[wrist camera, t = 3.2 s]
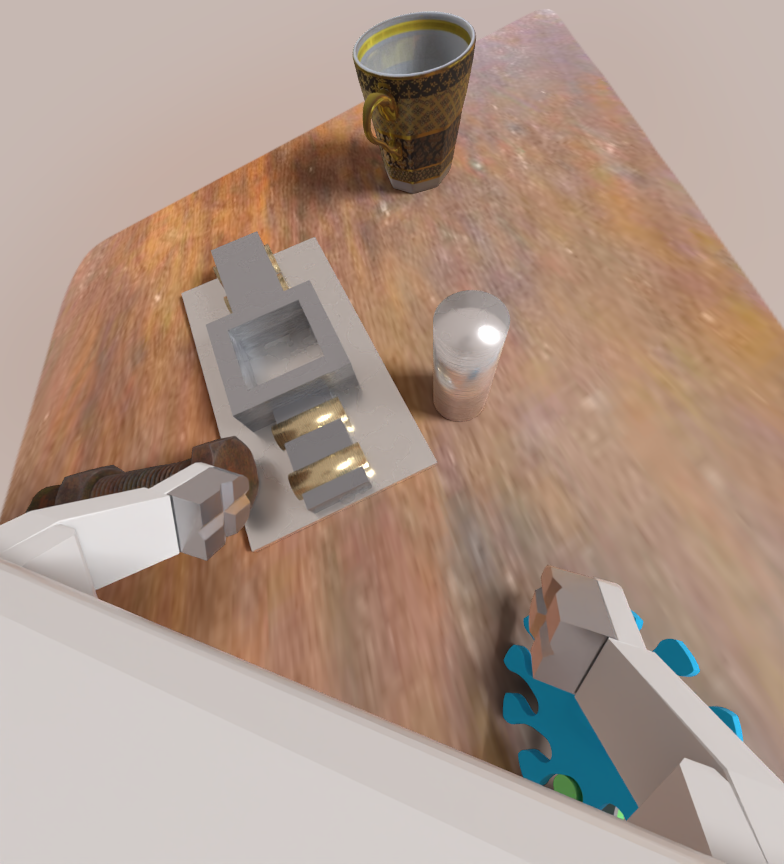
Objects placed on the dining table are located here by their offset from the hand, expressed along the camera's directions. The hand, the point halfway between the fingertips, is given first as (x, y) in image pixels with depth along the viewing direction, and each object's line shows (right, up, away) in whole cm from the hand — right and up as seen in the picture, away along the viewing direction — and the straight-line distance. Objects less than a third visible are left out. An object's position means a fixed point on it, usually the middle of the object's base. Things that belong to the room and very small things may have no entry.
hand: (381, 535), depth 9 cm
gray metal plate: (-8, +8, +20) cm, 23 cm away
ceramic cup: (+2, +29, +28) cm, 41 cm away
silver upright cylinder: (+5, +5, +18) cm, 19 cm away
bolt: (-17, -2, +17) cm, 24 cm away
